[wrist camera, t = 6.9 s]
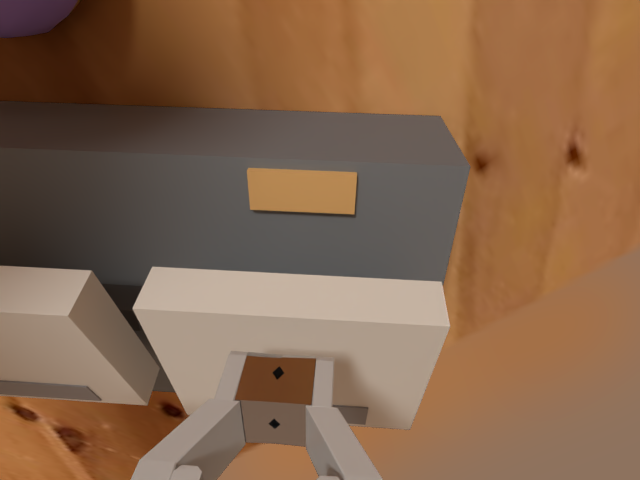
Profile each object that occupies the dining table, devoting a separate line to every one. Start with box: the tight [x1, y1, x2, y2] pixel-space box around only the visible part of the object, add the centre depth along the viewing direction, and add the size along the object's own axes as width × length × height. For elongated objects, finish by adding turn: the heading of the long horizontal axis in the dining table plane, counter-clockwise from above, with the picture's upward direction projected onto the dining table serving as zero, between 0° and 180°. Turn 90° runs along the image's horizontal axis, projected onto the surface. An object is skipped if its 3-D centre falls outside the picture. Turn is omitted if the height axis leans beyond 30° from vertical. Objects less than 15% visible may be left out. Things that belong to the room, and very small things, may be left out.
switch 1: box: [0, 266, 160, 405], centre depth 17 cm, size 8×10×2 cm
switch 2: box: [132, 267, 450, 430], centre depth 16 cm, size 8×10×2 cm
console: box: [0, 101, 470, 392], centre depth 21 cm, size 14×24×8 cm, turn 89°
